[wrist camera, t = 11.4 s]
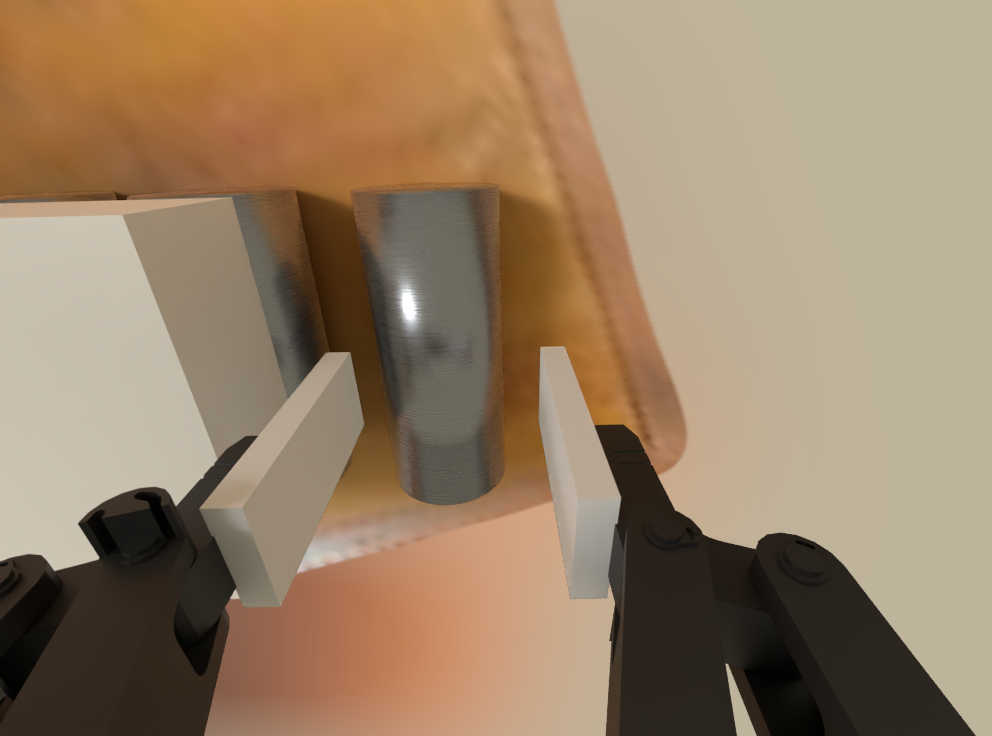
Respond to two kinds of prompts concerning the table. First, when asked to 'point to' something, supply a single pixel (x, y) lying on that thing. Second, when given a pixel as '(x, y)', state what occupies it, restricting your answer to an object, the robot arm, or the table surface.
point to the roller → (437, 331)
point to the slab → (121, 359)
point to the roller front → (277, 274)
